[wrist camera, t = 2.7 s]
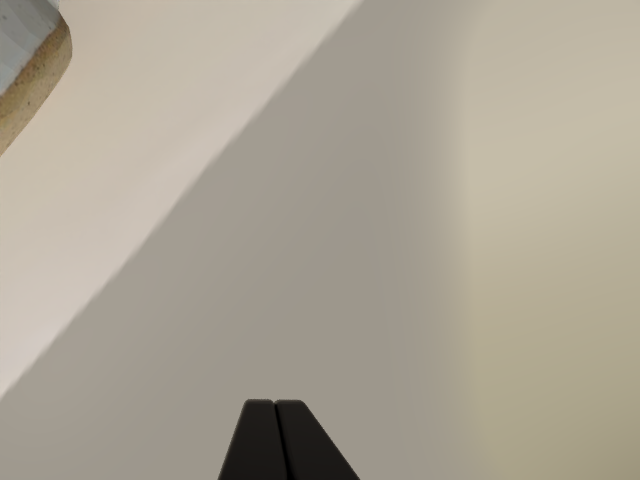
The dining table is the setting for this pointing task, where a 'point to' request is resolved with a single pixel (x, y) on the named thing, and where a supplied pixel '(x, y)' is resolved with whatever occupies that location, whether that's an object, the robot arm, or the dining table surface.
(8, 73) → the ceramic mug
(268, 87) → the dining table surface
